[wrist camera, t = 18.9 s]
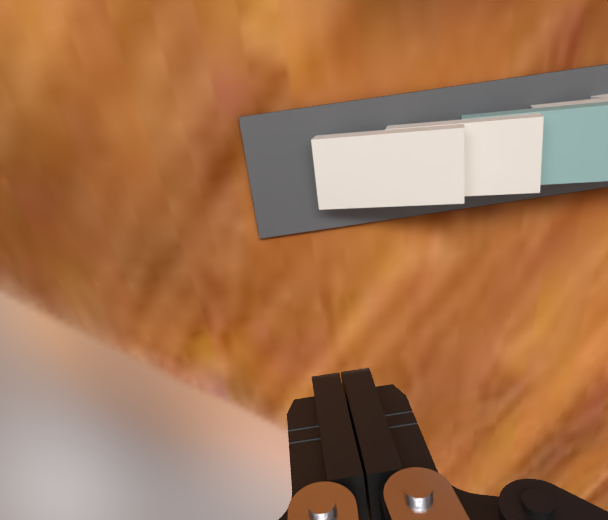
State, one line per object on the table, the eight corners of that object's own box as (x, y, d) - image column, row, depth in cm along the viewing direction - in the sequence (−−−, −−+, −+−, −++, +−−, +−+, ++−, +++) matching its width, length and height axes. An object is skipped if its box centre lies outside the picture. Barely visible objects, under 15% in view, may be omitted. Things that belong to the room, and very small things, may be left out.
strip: (259, 236, 40) (259, 238, 40) (238, 117, 37) (238, 117, 36) (642, 180, 41) (645, 181, 40) (656, 57, 37) (660, 57, 37)
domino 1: (318, 209, 38) (464, 203, 35) (310, 139, 36) (464, 127, 33) (323, 203, 39) (463, 196, 37) (316, 135, 37) (463, 123, 35)
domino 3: (462, 189, 38) (619, 180, 35) (461, 118, 36) (626, 103, 33) (462, 183, 39) (613, 174, 37) (461, 115, 38) (619, 100, 35)
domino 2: (389, 199, 38) (539, 192, 35) (385, 129, 36) (543, 116, 33) (391, 193, 39) (536, 186, 37) (387, 125, 37) (539, 112, 35)
